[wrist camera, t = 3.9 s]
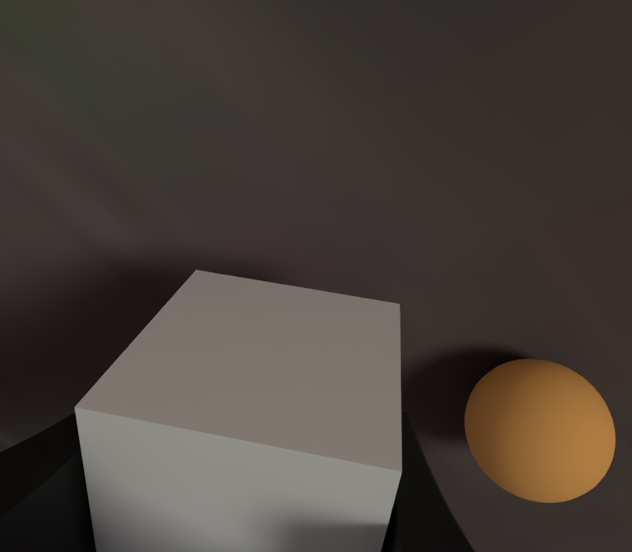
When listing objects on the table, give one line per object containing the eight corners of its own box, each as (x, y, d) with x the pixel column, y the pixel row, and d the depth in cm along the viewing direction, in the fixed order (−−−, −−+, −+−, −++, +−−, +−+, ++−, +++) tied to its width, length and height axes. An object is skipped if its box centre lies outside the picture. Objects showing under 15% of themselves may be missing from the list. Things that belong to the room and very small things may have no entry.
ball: (561, 440, 21) (606, 548, 16) (445, 418, 21) (458, 518, 17) (605, 345, 19) (670, 441, 14) (474, 323, 19) (497, 409, 15)
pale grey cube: (367, 456, 16) (352, 658, 11) (196, 423, 17) (103, 600, 11) (399, 303, 14) (401, 471, 8) (196, 270, 14) (74, 407, 9)
